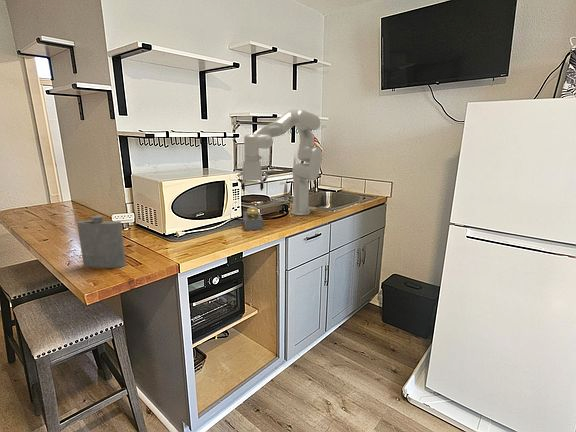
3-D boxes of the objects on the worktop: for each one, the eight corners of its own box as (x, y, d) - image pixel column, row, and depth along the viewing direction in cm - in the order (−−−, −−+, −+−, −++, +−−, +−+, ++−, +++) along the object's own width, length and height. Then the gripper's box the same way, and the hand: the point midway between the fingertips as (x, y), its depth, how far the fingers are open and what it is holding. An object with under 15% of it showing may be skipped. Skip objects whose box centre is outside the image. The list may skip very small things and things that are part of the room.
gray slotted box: (258, 219, 195) (258, 210, 194) (263, 229, 176) (262, 219, 175) (243, 220, 193) (243, 211, 192) (246, 230, 174) (245, 220, 173)
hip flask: (127, 264, 129) (121, 214, 124) (122, 268, 125) (116, 217, 120) (87, 263, 129) (79, 214, 124) (80, 267, 125) (72, 216, 120)
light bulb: (257, 222, 188) (257, 207, 186) (258, 225, 182) (258, 210, 180) (246, 222, 187) (246, 208, 185) (247, 225, 181) (247, 210, 179)
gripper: (266, 157, 181) (267, 188, 185) (235, 158, 177) (236, 189, 182) (269, 159, 174) (269, 191, 178) (235, 159, 170) (237, 192, 175)
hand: (252, 190), depth 180 cm, fingers open, 9 cm apart
